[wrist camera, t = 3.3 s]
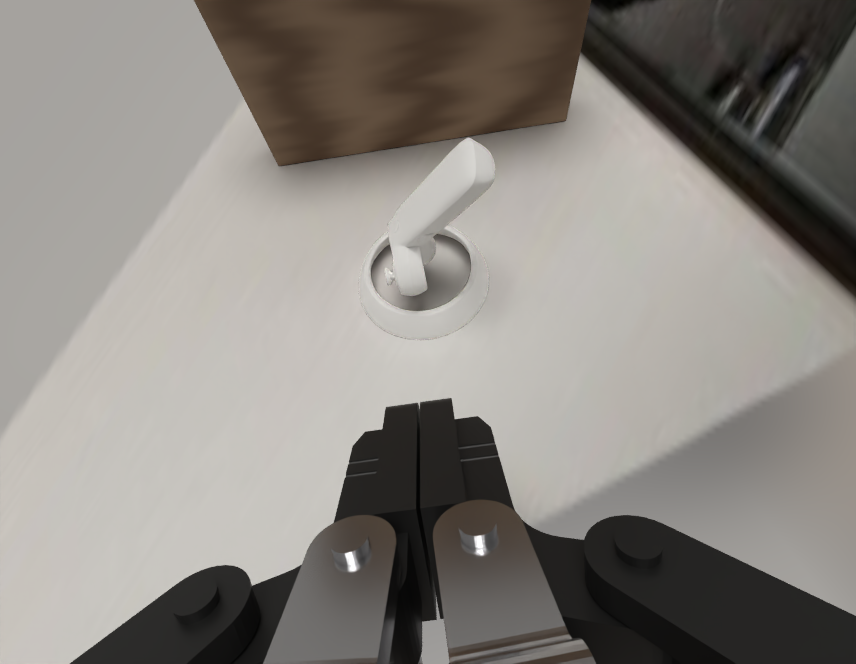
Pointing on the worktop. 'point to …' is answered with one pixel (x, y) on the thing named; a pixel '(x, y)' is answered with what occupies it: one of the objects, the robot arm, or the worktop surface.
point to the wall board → (396, 68)
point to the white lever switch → (431, 247)
